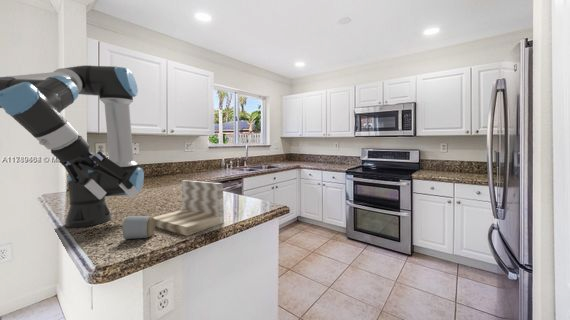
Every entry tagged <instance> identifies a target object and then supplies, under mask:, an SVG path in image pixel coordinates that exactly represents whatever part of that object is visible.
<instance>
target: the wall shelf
mask: <svg viewBox="0 0 570 320" xmlns="http://www.w3.org/2000/svg"><path fill="white" fill-rule="evenodd" d="M223 187H224V185H223V182H211V181H199V180H186V179H184V180H181V192H182V193H181V194H182V209H179V210H175V211H170V212H167V213H162V214H160V215H156V216H155V215H154V216H152V217H153V218H154V219H155V228H157V229H161V230H162V229H163V230H165V231H169V232H172V233H176V234H180V235H182V236H183V235H184V236H187V237H188V236H190V235H194V234H196V233H199V232H202V231H204V230H207V229H209V228H213V227H215V226H218V225H221V224H225V214H224V211H225V210H224V208H225V207H224V188H223Z"/></svg>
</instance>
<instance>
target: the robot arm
mask: <svg viewBox="0 0 570 320" xmlns="http://www.w3.org/2000/svg"><path fill="white" fill-rule="evenodd" d="M138 89H139V88H138V84H137V81H136V78H135V76H134V74H133V73H132V71H131V70H130V69H129V68H127V67H123V66H122V67H121V66H116V65H115V66H112V65H111V66H106V65H105V66H104V65H77V66H70V67H69V66H68V67H64V68H57V69H55V70H54V71H53V72H42V73H33V74H32V73H30V74H19V75H8V76H0V109H3V110H4V111H5V113H6V114H7V115H8V116H10V117H12V118H13V119H14V120H15V121H16V122H17V123H19V125H20V126H21V127H22V128H24V130H26V131H28V133H30V134H31V135H32V136H33V138H35V139H36V140H37V141H38V144H40V145H41V146H44V147H45V148H46V149H47V150H50V153H51V154H52V156H54V157H55V158H57V160H59V161H58V162H59V163H60V164H61V165H62V166H63V167H64V169H65V170H66V172H67V173H68V174H67V175H68V176H67V183H68V184H67V185H68V196H69V197H68V198H69V209H68V212H67V215H66V217H65V221H64V223H65V227H66V226H67V227H66V228H84V227H85V228H86V227H89V226H90V227H91V226H94V225H95V226H96V225H101V224H104V223H106V222H109V221H110V220H112V212H111V210H110V209H109V207H108V205H107V203H106V202H107V201H106V197H118V196H119V197H120V196H126V197H128V196H129V197H130V199H135V197H136V196H137V195H138V194H139V192H141V190H142V188H143V185H144V179H145V173H144V169H143V168H142V167H139V163H138V162H136V161H135V159H134V149H133V138H132V134H133V133H132V123H131V113H130V105H131V104H132V103H133V102H134V98H135V97H137V96H138V92H139V91H138ZM79 95H85V96H98V98H99V101H101V102H102V103H103V104H104V113H105V123H106V134H107V146H108V156H109V158H108V157H106V156H105V155H104V154H103V153H102V152H101V151H98V152H96V153H95V154H93V153H92V152H90V150H89V149H90V147H91V146H90V144H89V143H88V142H87V140H86V139H85V138H84V137H83V136H82V135H79V132H78V131H77V130H76V129H75V128H74V126H73V125H71V123H70V122H69V121H68V120H67V119H66V118H65V117H64V116H63V115H62V114H61V112H62V111H63V110H65V109H67V108H68V107H70V105H72V104H73V103H74V102H75V101H76V100H77V99H78V97H79Z"/></svg>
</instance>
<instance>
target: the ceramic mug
mask: <svg viewBox="0 0 570 320" xmlns="http://www.w3.org/2000/svg"><path fill="white" fill-rule="evenodd" d="M153 217H154V216H151V215H149V216H148V215H128V216H126V218H125V220H124V221H123V223H122V237H123V238H124V239H126V240H134V239H146V238H150V237H152V236H154V233H155V230H156V227H155V219H154V218H153Z"/></svg>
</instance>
